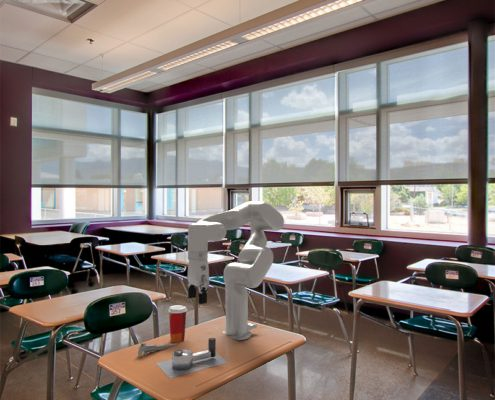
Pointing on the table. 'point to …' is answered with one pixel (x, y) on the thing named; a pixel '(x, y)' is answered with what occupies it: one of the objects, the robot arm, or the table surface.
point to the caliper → (151, 348)
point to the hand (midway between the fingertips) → (197, 300)
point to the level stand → (197, 365)
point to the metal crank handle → (192, 356)
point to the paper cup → (177, 323)
